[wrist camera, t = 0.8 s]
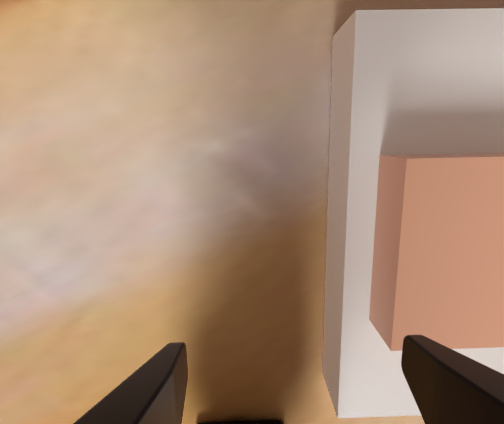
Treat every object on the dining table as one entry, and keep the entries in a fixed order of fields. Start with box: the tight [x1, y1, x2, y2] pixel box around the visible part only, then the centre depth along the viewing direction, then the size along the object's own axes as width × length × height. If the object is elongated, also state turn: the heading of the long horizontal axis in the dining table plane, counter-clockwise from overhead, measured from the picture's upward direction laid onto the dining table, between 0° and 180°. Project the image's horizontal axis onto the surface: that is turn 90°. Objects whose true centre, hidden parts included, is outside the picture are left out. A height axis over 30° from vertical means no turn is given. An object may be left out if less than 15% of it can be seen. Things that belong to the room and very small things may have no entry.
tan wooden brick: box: [369, 153, 504, 351], centre depth 16 cm, size 9×7×3 cm
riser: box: [322, 8, 504, 418], centre depth 19 cm, size 22×14×4 cm, turn 1°
